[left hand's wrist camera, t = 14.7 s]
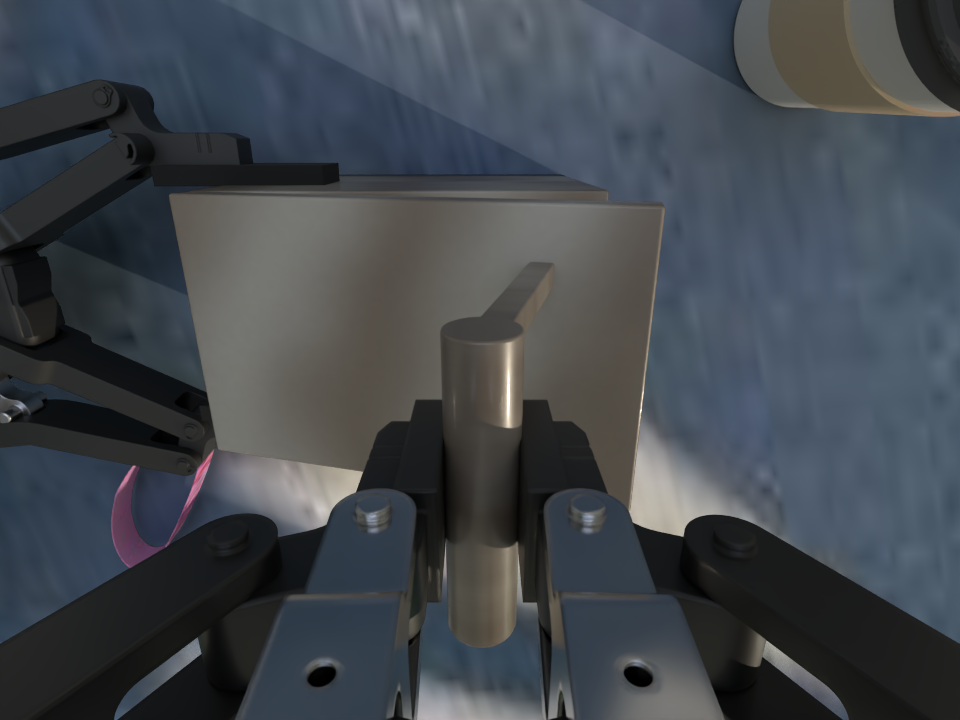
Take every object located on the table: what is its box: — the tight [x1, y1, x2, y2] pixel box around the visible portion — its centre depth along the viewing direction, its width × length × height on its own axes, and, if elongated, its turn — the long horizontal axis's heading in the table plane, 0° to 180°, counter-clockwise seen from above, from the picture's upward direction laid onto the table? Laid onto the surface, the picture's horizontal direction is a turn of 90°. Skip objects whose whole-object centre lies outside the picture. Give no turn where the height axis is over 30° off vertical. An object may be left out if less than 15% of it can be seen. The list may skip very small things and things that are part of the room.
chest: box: [189, 175, 608, 201], centre depth 26 cm, size 14×9×11 cm, turn 90°
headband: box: [111, 450, 214, 568], centre depth 34 cm, size 11×4×2 cm, turn 151°
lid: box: [169, 191, 665, 648], centre depth 15 cm, size 15×9×8 cm, turn 90°
